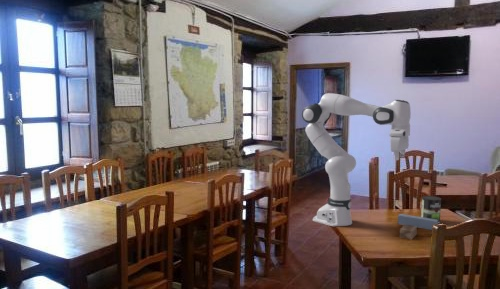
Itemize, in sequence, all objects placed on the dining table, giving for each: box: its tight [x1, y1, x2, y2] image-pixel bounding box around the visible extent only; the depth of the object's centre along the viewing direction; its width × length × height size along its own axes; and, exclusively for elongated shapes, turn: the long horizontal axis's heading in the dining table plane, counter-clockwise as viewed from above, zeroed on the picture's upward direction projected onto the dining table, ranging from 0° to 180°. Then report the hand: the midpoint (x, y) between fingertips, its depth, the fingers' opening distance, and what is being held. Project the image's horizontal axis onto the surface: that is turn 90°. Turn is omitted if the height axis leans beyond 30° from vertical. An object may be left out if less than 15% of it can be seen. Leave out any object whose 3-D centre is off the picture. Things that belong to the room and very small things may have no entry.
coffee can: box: [420, 195, 442, 224], centre depth 231 cm, size 10×10×14 cm
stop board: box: [397, 213, 438, 231], centre depth 222 cm, size 20×4×5 cm, turn 54°
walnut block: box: [399, 224, 418, 240], centre depth 207 cm, size 6×10×4 cm, turn 144°
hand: (399, 158), depth 203 cm, fingers open, 8 cm apart
